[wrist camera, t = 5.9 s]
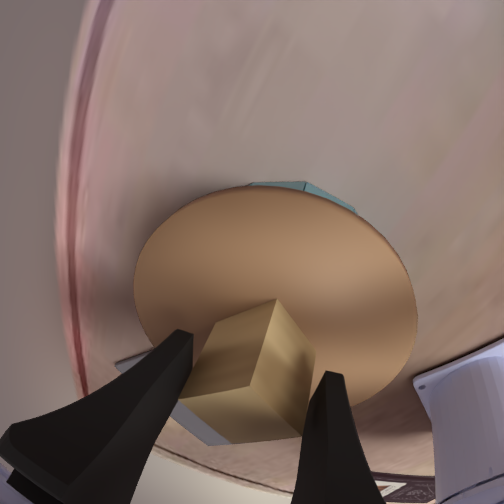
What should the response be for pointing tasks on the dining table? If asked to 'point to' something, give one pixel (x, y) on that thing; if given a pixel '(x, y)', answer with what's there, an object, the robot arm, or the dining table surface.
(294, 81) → the dining table surface
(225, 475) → the dining table surface
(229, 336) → the lid
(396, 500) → the chocolate bar
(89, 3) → the dining table surface
